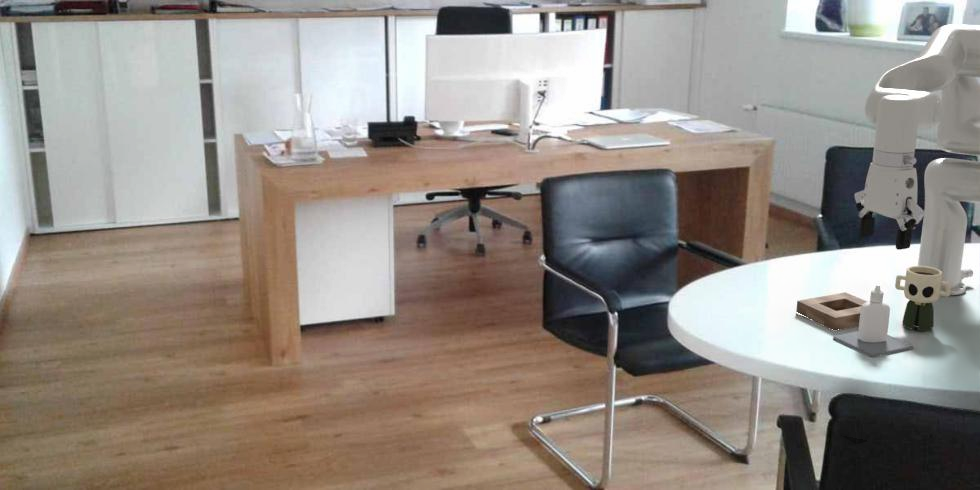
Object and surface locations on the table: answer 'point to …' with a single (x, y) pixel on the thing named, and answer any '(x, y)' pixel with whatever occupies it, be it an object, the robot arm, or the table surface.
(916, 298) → the character mug
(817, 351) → the table surface
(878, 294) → the eye dropper bottle
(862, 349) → the slate mat
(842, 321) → the walnut dock
